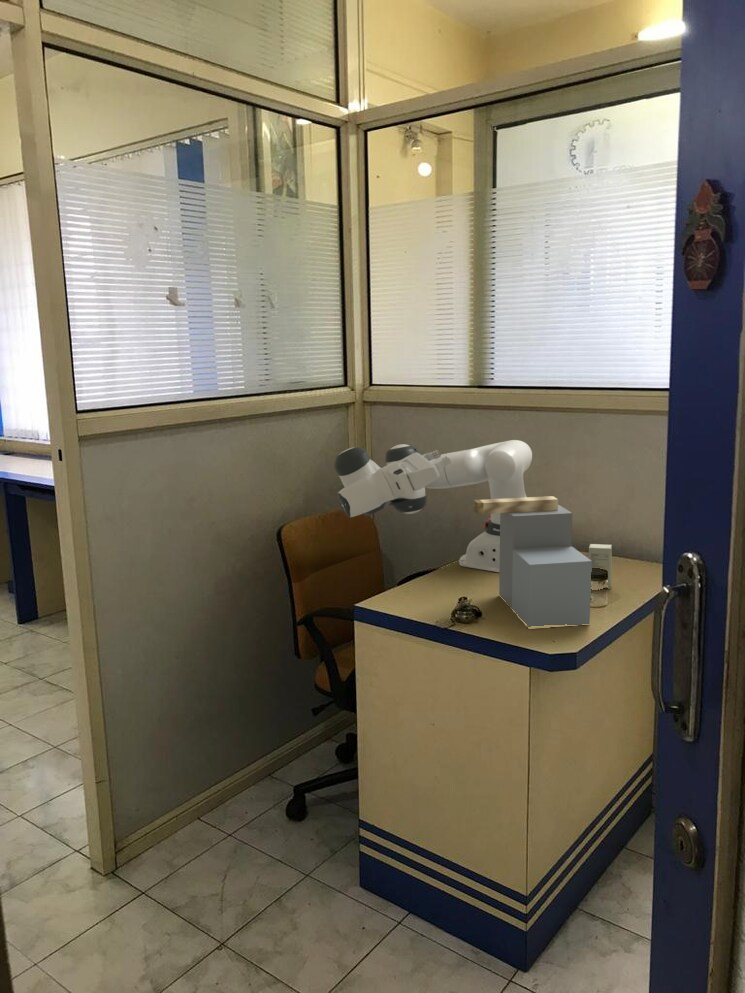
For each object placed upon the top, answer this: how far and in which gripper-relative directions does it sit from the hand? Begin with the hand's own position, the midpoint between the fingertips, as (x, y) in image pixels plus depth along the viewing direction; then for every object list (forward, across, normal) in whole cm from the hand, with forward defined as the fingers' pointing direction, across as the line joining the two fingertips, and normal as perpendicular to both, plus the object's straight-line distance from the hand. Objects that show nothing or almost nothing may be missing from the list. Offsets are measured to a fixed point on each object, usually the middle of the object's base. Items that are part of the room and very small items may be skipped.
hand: (444, 456), depth 215 cm
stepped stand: (+6, +10, -48) cm, 49 cm away
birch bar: (+12, +2, -22) cm, 25 cm away
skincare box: (+28, -5, -57) cm, 64 cm away
